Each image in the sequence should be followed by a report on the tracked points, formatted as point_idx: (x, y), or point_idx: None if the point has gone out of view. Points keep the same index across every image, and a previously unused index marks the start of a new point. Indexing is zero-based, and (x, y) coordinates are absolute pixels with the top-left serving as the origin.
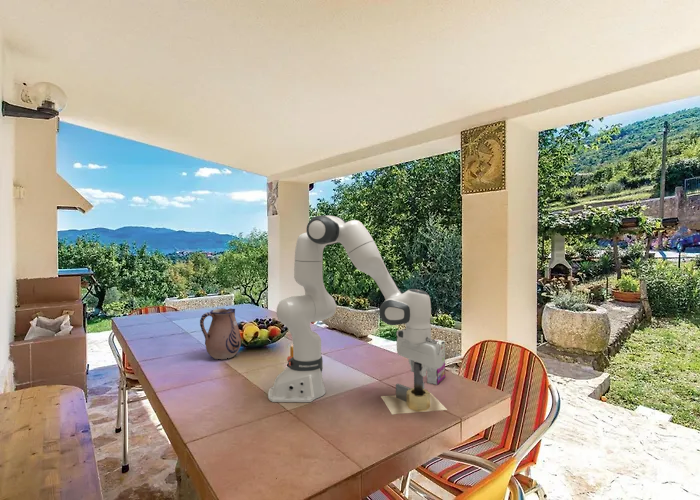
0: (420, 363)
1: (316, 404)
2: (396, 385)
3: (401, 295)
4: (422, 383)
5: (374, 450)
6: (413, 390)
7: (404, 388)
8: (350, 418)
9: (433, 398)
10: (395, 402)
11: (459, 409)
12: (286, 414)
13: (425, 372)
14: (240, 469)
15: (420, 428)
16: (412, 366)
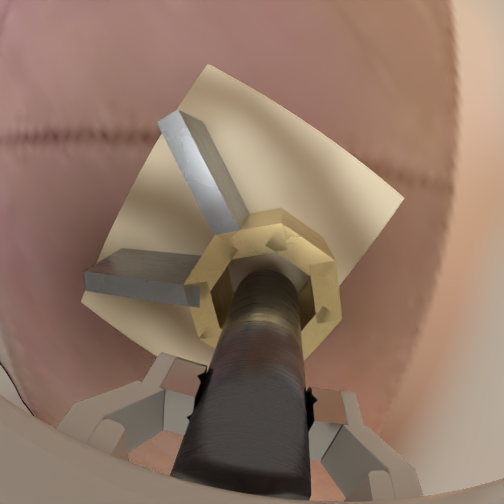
0: (278, 497)
1: (46, 418)
2: (92, 289)
3: None
4: (301, 338)
5: (314, 493)
6: (212, 286)
7: (152, 297)
8: (152, 443)
9: (269, 119)
10: (162, 313)
11: (410, 107)
12: None
13: (355, 421)
14: None
15: (362, 378)
16: (156, 428)
